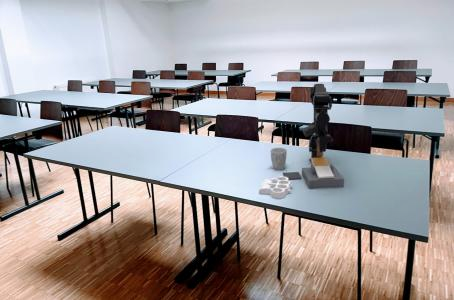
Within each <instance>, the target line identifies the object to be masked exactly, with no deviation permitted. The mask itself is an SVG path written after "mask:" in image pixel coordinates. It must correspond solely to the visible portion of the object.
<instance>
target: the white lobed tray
mask: <svg viewBox="0 0 454 300" xmlns="http://www.w3.org/2000/svg"><path fill="white" fill-rule="evenodd" d="M291 187H294V185H293V184H292V183H291V181H290V180H289V178H287V177H284V175H283V176H281V175H280V176H277V177H275V178H265V179H263V181H262V184H261V186H260V188H259V189H258V193H259V194H260V195H270V196H271V197H272V198H274V199H278V200H279V199H284V198H285V196H286V195H289V193H291V192H292V189H291Z"/></svg>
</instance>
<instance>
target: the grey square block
mask: <svg viewBox="0 0 454 300" xmlns="http://www.w3.org/2000/svg"><path fill="white" fill-rule="evenodd" d="M329 166H330V168H331V171H332V173H333V175H334V178H320V179H318V176H317V173H316V171H315V167H314V166H313V164H311V165H310V166H309V167H308V166H307V167H301V178H302V179H303V180H304V183H305V184H306V186H307V188H308V189H309V190H310V189H325V188H327V189H328V188H344V187H345V186H344V184H345V178H344V176H342V174H341V173H340V172H339V170H338V169H337V168H336V167H335V166H334V165H333V164H332V163H329Z"/></svg>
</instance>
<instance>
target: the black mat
mask: <svg viewBox="0 0 454 300" xmlns="http://www.w3.org/2000/svg"><path fill="white" fill-rule="evenodd" d="M282 175H283V176H284V177H287V178H289V181H290V180H291V181H292V180H293V181H294V180H295V181H296V180H302V179H303V177H302V175H301V174H300V172H299V171H289V172H282Z"/></svg>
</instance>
